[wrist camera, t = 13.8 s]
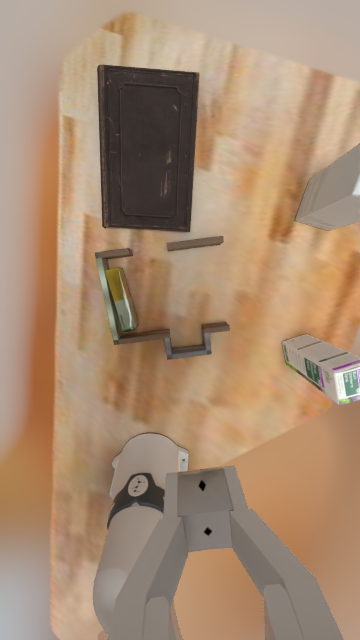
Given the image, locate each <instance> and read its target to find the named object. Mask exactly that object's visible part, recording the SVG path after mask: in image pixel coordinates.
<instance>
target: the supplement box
mask: <svg viewBox="0 0 360 640" xmlns="http://www.w3.org/2000/svg"><path fill="white" fill-rule="evenodd" d="M295 221H298V222H301V223H304V224H307V225H311V226H314V227H317V228H321V229H324V230H328V231H330V230H333V229H336V228H340V227H343V226H346V225H350V224H353V223H356V222H359V221H360V144H358V145H357V146H356V147H354V148H353V149H351V150H350V151H349V152H347V153H346V154H345V155H343V156H342V157H340V158H339V159H338V160H336V161H335V162H334V163H332V164H331V165H330V166H328V167H327V168H325V169H324V170H323V171H321V172H320V173H319V174H317V175H316V176H314V177H313V178H312V179H310V180H309V182H308V185H307V188H306V190H305V193H304V196H303V199H302V202H301V205H300V207H299V210H298V213H297V216H296V219H295Z"/></svg>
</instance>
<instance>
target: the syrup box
mask: <svg viewBox="0 0 360 640" xmlns="http://www.w3.org/2000/svg"><path fill="white" fill-rule="evenodd" d="M282 345H283V350H284V355H285V359H286V364H287V365H288V366H290V367H291V368H292V369H293V370H295V371H296V372H297V373H299V374H300V375H301V376H302V377H304V378H305V379H306V380H308V381H309V382H310V383H311V384H313V385H314V386H315V387H317V388H318V389H319V390H321V391H322V392H323V393H324V394H326V395H327V396H328V397H330V398H331V399H332V400H333V401H335V402H336V403H337V404H345V403H349V402H353V401H357V400H360V356H357V355H355V354H353V353H350V352H348V351H346V350H344V349H341V348H339V347H336V346H334V345H332V344H329V343H327V342H325V341H322V340H320V339H318V338H315V337H313V336H311V335H308V334H305V335H301V336H298V337H295V338H291V339H288V340H285V341H282Z"/></svg>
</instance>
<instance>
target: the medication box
mask: <svg viewBox="0 0 360 640" xmlns="http://www.w3.org/2000/svg"><path fill="white" fill-rule="evenodd" d="M105 272H106V276H107V279H108V282H109V286H110V289H111V292H112V296H113V299H114V302H115V306H116V309H117V312H118V316H119V319H120V323H121V326H122V329H123V332H129V331H132V330H135V329H136V328H137V326H138V322H137V318H136V314H135V311H134V307H133V303H132V300H131V296H130V293H129V289H128V285H127V282H126V278H125V275H124V271H123V269H121V268H113V269H109V270H106V271H105Z"/></svg>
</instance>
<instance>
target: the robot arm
mask: <svg viewBox="0 0 360 640" xmlns="http://www.w3.org/2000/svg"><path fill="white" fill-rule="evenodd" d="M188 457H189V452H188V451H187V450H186V449H183V448H181V447H178V446H177V445H176V444H175V443H173V442H172V441H171V440H170V439H168V438H167V437H165V436H162V435H159V434H152V433H148V434H141V435H138V436H136V437H134V438H132V439H131V440H129V441H128V442H127V443H126V445H125V446H124V448H123V450H122V452H121V453H120V454H119V455H117V456H116V457H115V458H114V459H113V462H112V466H113V468H114V470H115V473H114V477H113V481H112V486H111V490H110V496H111V498H112V501H113V504H112V507H111V509H110V513H109V519H108V524H107V528H108V532H107V536H106V539H105V543H104V547H103V551H102V554H101V558H100V562H99V565H98V569H97V573H96V577H95V580H94V586H93V604H94V610H95V613H96V616H97V618H98V620H99V622H100V624H101V626H102V627H103V629H104V630H105V631H106V633H107V634H108V635H109V636H108V640H183V638H182V635H181V632H180V628H179V625H178V621H177V616H176V612H175V607H174V600H173V598H174V595H175V592H176V589H177V586H178V583H179V580H180V577H181V574H182V571H183V568H184V565H185V562H186V559H187V556H188V552H194V551H201V550H207V549H218V548H233V550H234V552H235V553H236V555H237V556H238V558H239V560H240V561H241V563H242V564H243V566H244V568H245V569H246V571H247V572H248V574H249V576H250V577H251V579H252V580H253V582H254V583H255V585H256V587H257V588H258V590H259V592H260V593H261V595H262V596H263V598H264V623H265V640H344V639H343V637H342V635H341V633H340V630H339V628H338V626H337V624H336V622H335V620H334V617H333V615H332V613H331V611H330V609H329V606H328V604H327V602H326V600H325V598H324V595H323V593H322V591H321V589H320V587H319V585H318V582H317V580H316V578H315V577H314V576H313V575H312V574H311V573H310V572H309V571H308V570H307V568H306V567H305V566H304V565H303V564H302V563H301V562H300V561H299V560H298V559H297V557H296V556H295V555H294V554H293V553H292V552H291V551H290V550H289V549H288V547H287V546H285V544H284V543H283V542H282V541H281V540H280V539H279V538H278V537H277V535H276V534H275V533H274V532H273V531H272V530H271V529H270V528H269V527H268V526H267V524H266V523H265V522H264V521H263V520H262V519H261V518H260V517H259V516H258V515H257V514H256V512H255V511H254V510H253V509H248V506H247V503H246V500H245V497H244V493H243V490H242V487H241V484H240V480H239V477H238V474H237V471H236V468H235V466H225V467H214V468H207V469H200V470H193V471H187V468H188Z"/></svg>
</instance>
